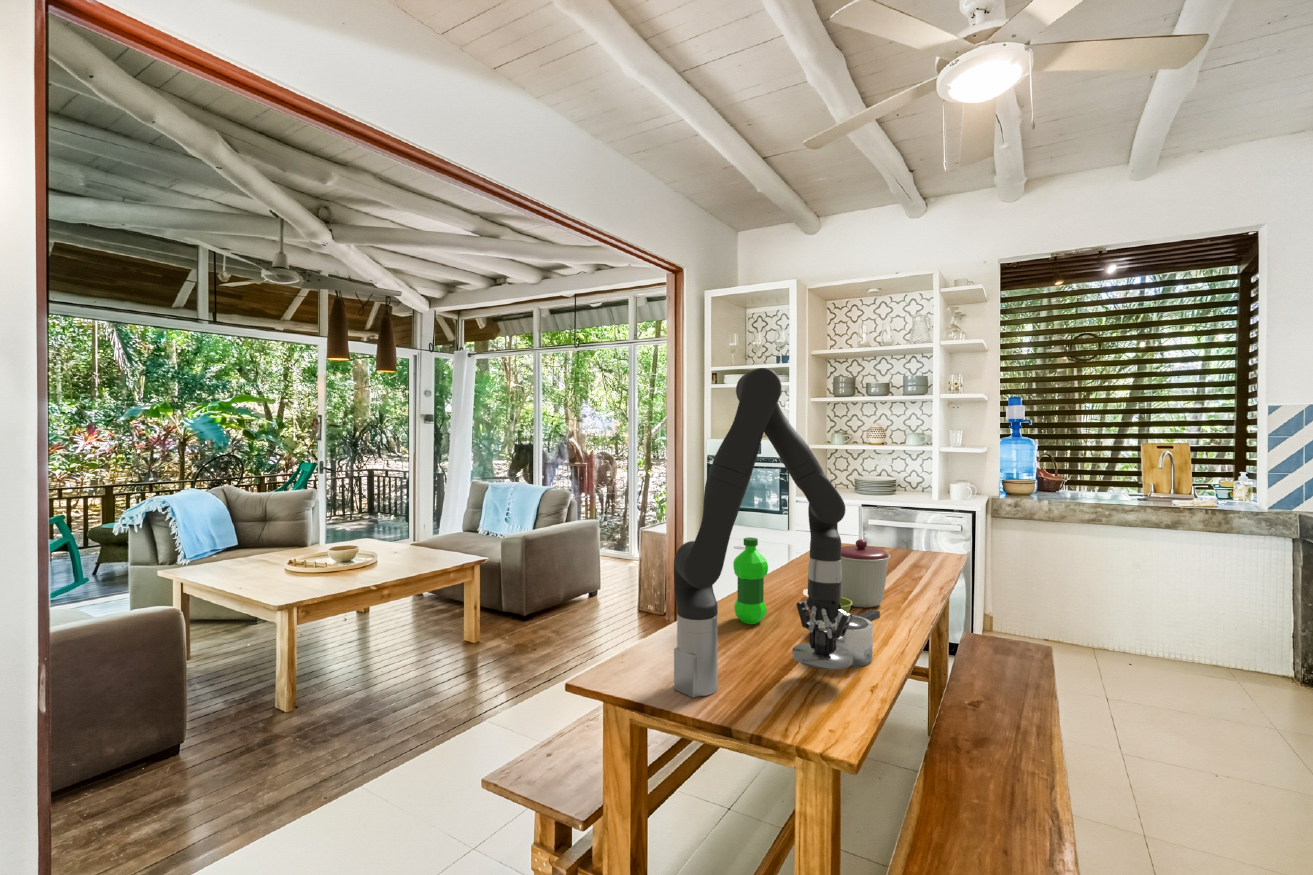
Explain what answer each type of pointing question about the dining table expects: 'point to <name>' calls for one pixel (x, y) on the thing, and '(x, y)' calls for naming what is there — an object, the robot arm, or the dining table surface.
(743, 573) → the plastic bottle
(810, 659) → the lid
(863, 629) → the cooker pot
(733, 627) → the dining table surface
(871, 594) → the canister
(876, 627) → the dining table surface
